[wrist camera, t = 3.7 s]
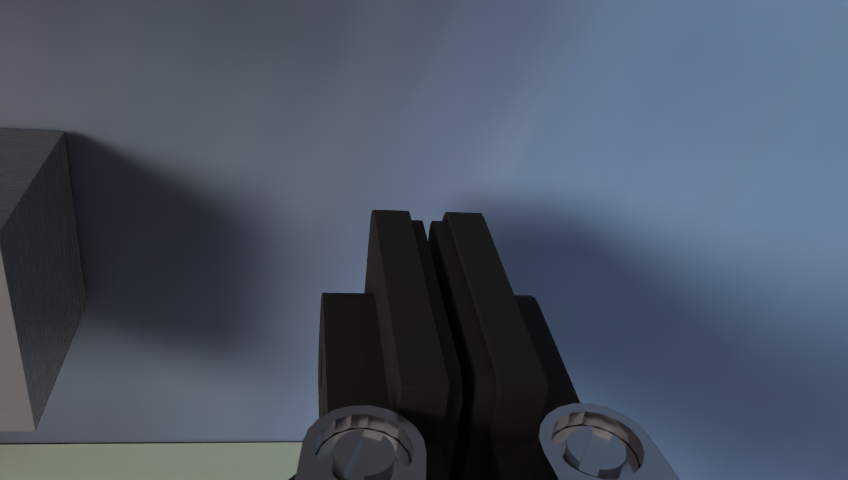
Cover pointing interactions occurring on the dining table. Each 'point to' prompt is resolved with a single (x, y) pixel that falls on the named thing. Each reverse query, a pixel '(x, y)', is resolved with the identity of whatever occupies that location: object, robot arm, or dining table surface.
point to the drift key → (35, 272)
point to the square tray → (150, 461)
